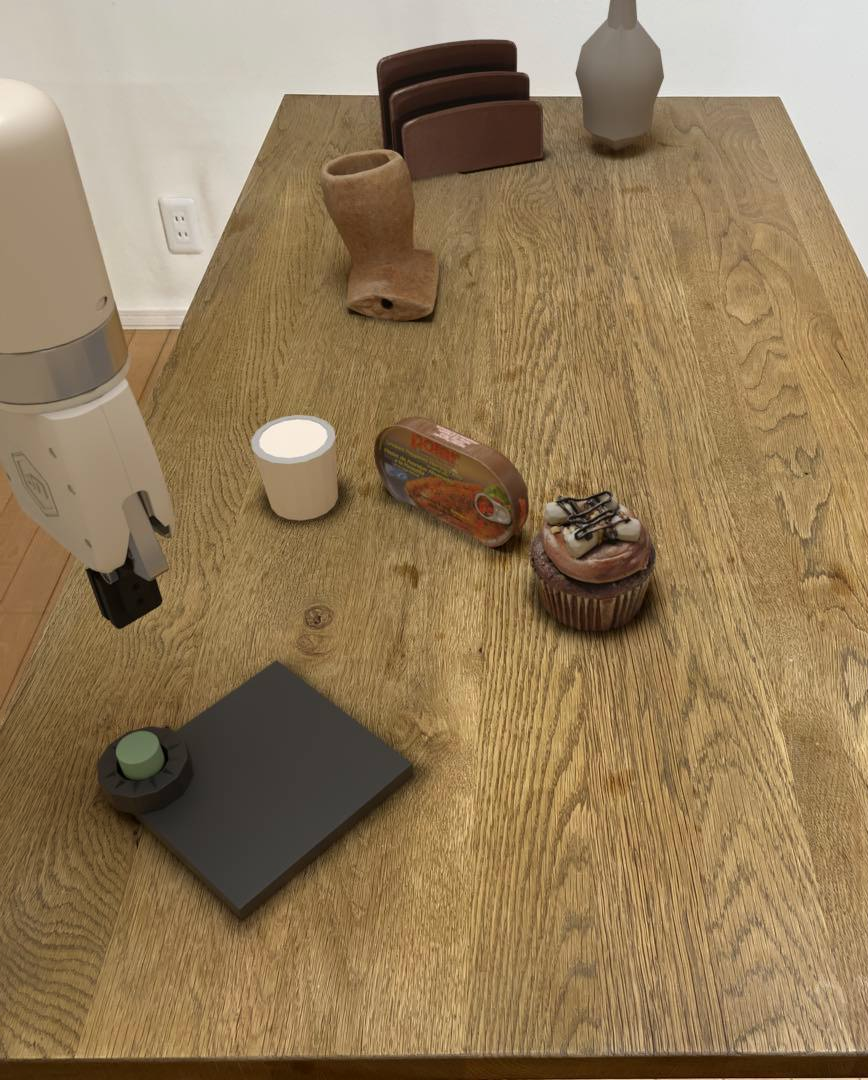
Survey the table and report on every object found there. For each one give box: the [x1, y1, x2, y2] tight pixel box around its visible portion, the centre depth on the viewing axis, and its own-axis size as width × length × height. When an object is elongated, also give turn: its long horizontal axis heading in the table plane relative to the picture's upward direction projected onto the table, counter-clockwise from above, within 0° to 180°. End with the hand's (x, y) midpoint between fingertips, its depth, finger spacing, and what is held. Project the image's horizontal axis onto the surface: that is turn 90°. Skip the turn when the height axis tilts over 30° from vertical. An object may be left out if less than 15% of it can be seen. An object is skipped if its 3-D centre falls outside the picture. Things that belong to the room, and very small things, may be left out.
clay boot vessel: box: [319, 148, 440, 322], centre depth 118 cm, size 15×12×15 cm
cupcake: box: [528, 490, 658, 633], centre depth 83 cm, size 10×10×10 cm
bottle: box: [575, 0, 665, 152], centre depth 144 cm, size 11×11×30 cm
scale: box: [96, 660, 414, 921], centre depth 72 cm, size 15×15×4 cm
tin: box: [373, 415, 530, 548], centre depth 91 cm, size 15×3×8 cm, turn 53°
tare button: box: [116, 731, 165, 781], centre depth 70 cm, size 3×3×2 cm
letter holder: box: [375, 38, 545, 180], centre depth 147 cm, size 10×20×14 cm, turn 114°
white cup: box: [250, 414, 339, 521], centre depth 93 cm, size 7×7×7 cm
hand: (133, 610), depth 67 cm, fingers closed
